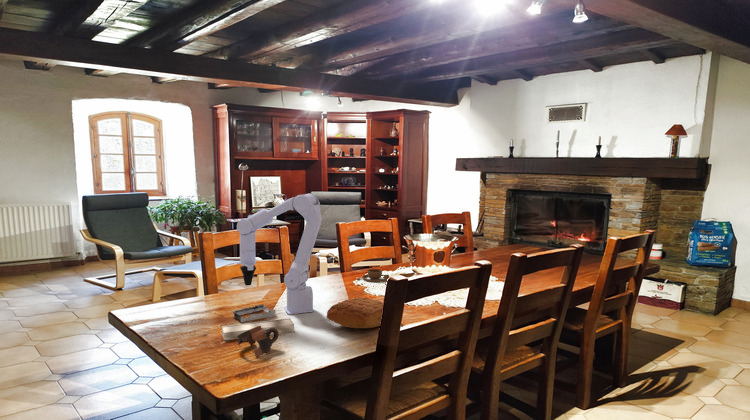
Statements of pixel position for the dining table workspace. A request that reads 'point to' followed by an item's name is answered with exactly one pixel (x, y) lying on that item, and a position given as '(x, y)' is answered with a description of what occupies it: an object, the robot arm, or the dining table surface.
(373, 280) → the place setting
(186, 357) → the dining table surface
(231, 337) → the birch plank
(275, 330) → the brown looped piece
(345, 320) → the bread loaf
